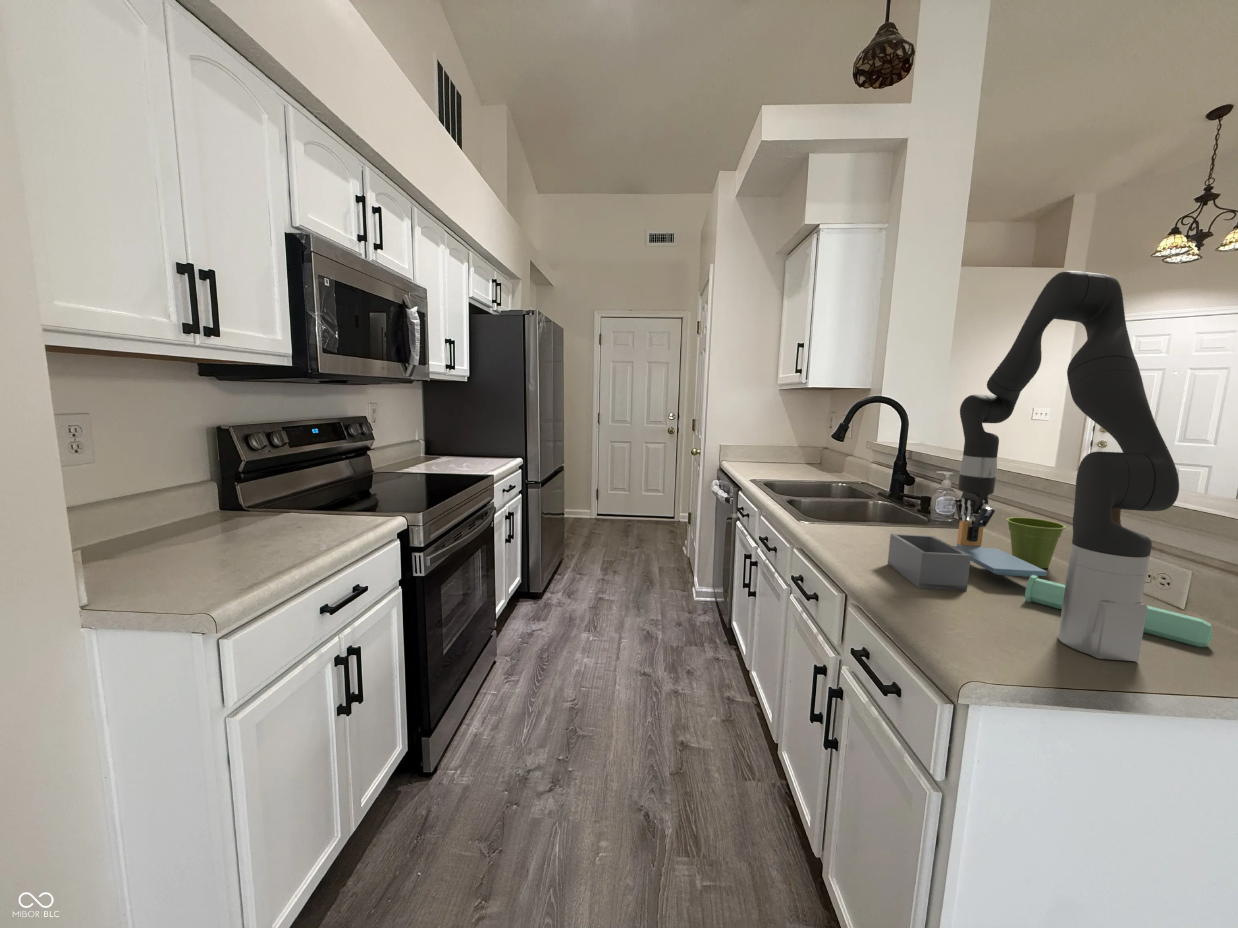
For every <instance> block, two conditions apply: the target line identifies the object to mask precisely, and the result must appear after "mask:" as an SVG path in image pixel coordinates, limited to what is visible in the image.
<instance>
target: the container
mask: <svg viewBox="0 0 1238 928" xmlns="http://www.w3.org/2000/svg"><path fill="white" fill-rule="evenodd" d="M1065 585H1066V584H1063V583H1060V582H1059V583H1057V582H1054V581H1049V580H1046V579H1042V578H1039V575H1031V576H1030V577H1029V578H1028V581H1027V583H1026V586H1025V592H1024V600H1025V602H1027V603H1032V602H1033V603H1037V604H1041V605H1044V606H1046V607H1047V606H1048V607H1051V608H1055V609H1058V610H1061V611H1062V605H1063V598H1064V591H1065ZM1143 633H1144V634H1145V633H1146V634H1149V635H1153V636H1157V637H1160V638H1164V639H1168V640H1171V641H1176V642H1178V643H1181V644H1187V645H1190V646H1193V647H1198V648H1207V646H1208V645H1209V643H1210V642H1211V641H1212V639H1213V638H1214V631H1213V626H1212V623H1209V622H1208V621H1206V620H1204V619H1202V618H1199V617H1195V616H1191V615H1186V614H1182V613H1180V612H1179V613H1178V612H1176V611H1175V612H1174V611H1171V610H1168V609H1162V608H1159V607H1154V606H1151V605H1147V613H1146V619H1145V625H1144V630H1143Z"/></svg>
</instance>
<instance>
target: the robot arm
mask: <svg viewBox="0 0 1238 928" xmlns="http://www.w3.org/2000/svg"><path fill="white" fill-rule="evenodd" d="M1123 297H1124V296H1123V290H1122V286H1121V284H1120V282H1119V280H1118V279H1117V278H1116V277H1114V276H1111V275H1108V274H1104V273H1096V272H1087V271H1079V270H1078V271H1077V270H1064V271H1063V270H1062V271H1060V272H1058V273H1056V274H1055V275H1054V276H1053V277H1052V278H1051V279H1049V281H1048V282H1047V283H1046V284H1045V285H1044V287H1043V289H1042V290H1041V292H1040V293H1039V295H1038V296H1037V299H1036V300H1035V302H1034V304H1033V305H1032V308H1031V310H1030V311H1029V313H1028V315H1027V317H1026V319H1025V321H1024V323H1023V325H1022V326H1021V329H1020V330H1019V332H1018V334H1017V336H1016V339H1015V340H1014V342H1013V343H1012V345H1011V348H1010V349H1009V351H1008V352H1007V354H1006V355H1005V356H1004V358H1003V360H1002V361H1001V362H1000V364H998V366H997V367H996V369H995V370H994V371H993V373H992V374H991V375H990V377H989V379H988V380H987V382H986V388H987V390H988V391H989V392H990V393H991V394H971V395H968V396H967V397H965V398H964V399H963V401H962V402H961V404H960V408H959V415H960V422H961V425H962V431H963V437H964V444H963V452H962V453H963V454H962V459H961V461H960V468H959V475H958V476H959V477H958V485H957V490H958V491H959V492H962V494H961V496H960V498H955V499H954V503H955V509H956V514H957V518H958V521H969V527H968V535H967V540H968V541H972V542H976V541H977V540H978V533H979V528H980V527H984V528H985V527H986V526H987V525H988V524H989V522H990V520H991V518H993V515H994V514H995V512H996V510H995V508H993V507H992V508H991V507H990V506H989V495H993V494H994V493H995V487H996V480H997V471H998V455H999V447H1000V446H999V444H1000V438H999V436H998V435H997V434H995V433H992V432H988V431H986V430H985V428H984V425H983V424H1001V423H1003V422H1005V421H1007V420H1008V419H1009V418H1010V417H1011V415H1012V414H1013V412H1014V410H1015V408H1016V404H1017V402H1018V399H1019V397H1020V395H1021V392H1022V391H1023V390H1024V389H1025V387H1027V385H1028V384H1029V383H1030V382H1031V381H1032V380H1033V378H1034V376H1035V375H1036V374H1037V373H1038V370H1039V369H1040V367H1041V362H1042V357H1043V356H1042V337H1043V334H1044V332H1045V330H1046V329H1047V327H1048V326H1049V324H1050V323H1052V321H1053V320H1059V321H1060V320H1061V321H1069V322H1077V323H1080V324H1082V325H1083V326H1084V329H1085V332H1086V338H1087V340H1085V342H1084V344H1083V345H1082V346H1081V347H1080V348H1079V350H1078V351H1076V353H1075V354H1074V356H1073V357H1072V359H1071V360H1070V362H1069V364H1068V366H1067V369H1066V377H1067V382H1068V387H1069V391H1070V395H1071V398H1072V401H1073V403H1074V404H1075V406H1076V407H1077V408H1078V409H1079V410H1080V411H1081V412H1082V413H1083V414H1084V415H1086V416H1087V417H1088V418H1089V419H1091V421H1093V422H1094V423H1095V424H1097V425H1098V426H1099V427H1101V428H1102V429H1103V430H1104V431H1105V432H1107V433H1108V434H1109V435H1110V436H1111V438H1113V439H1114V440H1115V441H1116V443H1117V444H1118V445H1119V448H1120V449H1121V450H1122V452H1121V451H1120V452H1115V451H1091V452H1089V453H1088V454H1086V455H1085V456H1084V457H1083V459H1081V461H1080V464H1078V465H1079V466H1078V468H1077V473H1076V480H1075V489H1074V490H1075V492H1074V506H1073V516H1072V539H1071V540H1072V541H1071V547H1070V553H1069V558H1068V559H1069V560H1068V566H1067V573H1066V577H1065V578H1066V579H1065V584H1064V585H1065V591H1064V598H1063V605H1062V610H1061V612H1060V613H1061V614H1060V621H1059V628H1058V633H1057V639H1058V640H1059V642H1061V643H1062V644H1064V645H1065V646H1067V647H1069V648H1071V649H1074V650H1076V651H1079V652H1081V653H1084V654H1087V655H1090V656H1092V657H1094V658H1096V659H1100V660H1113V661H1125V662H1126V661H1127V662H1139V659H1140V652H1141V648H1142V647H1141V646H1142V640H1143V635H1144V632H1143V630H1144V625H1145V619H1146V613H1147V606H1148V605H1147V604H1145V603H1142V602H1143V598H1144V591H1145V585H1146V580H1147V575H1148V574H1147V573H1148V567H1149V562H1150V557H1151V556H1150V555H1151V554H1152V553H1151V552H1152V544H1153V543H1152V539H1151V538H1150V537H1149V536H1147V535H1145V534H1143V533H1141V532H1138V531H1135V530H1133V529H1130V528H1127V527H1124V526H1123V525H1122V526H1120V525H1119V524H1117V523H1116V522H1114V521H1113V519H1112V509H1121V510H1125V511H1126V510H1127V511H1138V512H1139V511H1140V512H1161V511H1166V510H1168V509H1170V508H1171V507H1172V506H1173V505H1174V504H1175V503H1176V501H1177V499H1178V496H1179V492H1180V480H1179V474H1178V470H1177V467H1176V464H1175V462H1174V460H1173V457H1172V455H1171V452H1170V450H1169V449H1168V447H1167V445H1166V442H1165V440H1164V438H1163V436H1162V434H1161V432H1160V430H1159V428H1158V426H1157V424H1156V421H1155V419H1154V416H1153V413H1152V411H1151V407H1150V404H1149V401H1148V397H1147V394H1146V390H1145V387H1144V382H1143V378H1142V375H1141V371H1140V368H1139V364H1138V361H1137V360H1136V357H1135V354H1134V350H1133V348H1132V344H1131V341H1130V335H1129V332H1128V327H1127V323H1126V315H1125V314H1126V313H1125V306H1124V298H1123Z"/></svg>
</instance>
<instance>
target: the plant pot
mask: <svg viewBox="0 0 1238 928" xmlns="http://www.w3.org/2000/svg"><path fill="white" fill-rule="evenodd" d="M1005 521H1006V522H1007V523H1008V530H1009V534H1010V544H1011V547H1010V548H1011V555H1013V556H1015V557H1017V558H1019V559H1021V560H1023V561H1026V562H1028V563H1030V564H1032V565H1034V566H1036V567H1039V568H1041V569H1043V570H1044V569H1047V568H1049V567H1050V565H1051V561H1052V559H1053V555H1054V553H1055V550H1056V547H1057V544H1058V541H1059V538H1060V537H1061V536H1062V533H1063V531H1064V530H1065V529H1066V528H1067V526H1066V525H1065V524H1063V523H1060V522H1057V521H1052V520H1046V519H1041V518H1033V517H1019V516H1017V517H1016V516H1013V517H1007V518H1005Z"/></svg>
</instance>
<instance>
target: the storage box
mask: <svg viewBox="0 0 1238 928" xmlns="http://www.w3.org/2000/svg"><path fill="white" fill-rule="evenodd" d="M889 535H890V536H889V545H888V546H889V547H888V557H887V566H889V565H890V566H891V567H890V566H889V567H890V568H891V569H894V571H896V573H898V574H899V575H901V576H902V577H904V578H905V579H907V580H908V581H909V582H910V583H911V584H913V585H914V586H916V587H917V588H919V589H930V590H931V589H932V590H945V591H961V592H963V591H964V592H965V591H966V592H967V591H968V583H969V574H970V567H971V561H970V560H971V555H969V554H967V553H965V552H963V551H961V550H959V549H957V548H955V547H953V546H954V545H951V544H949V543H947V542H945V541H944V540H941V539H940V538H938V537H936V536H934V535H922V534H921V535H920V534H907V533H906V534H903V533H890V534H889Z"/></svg>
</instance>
